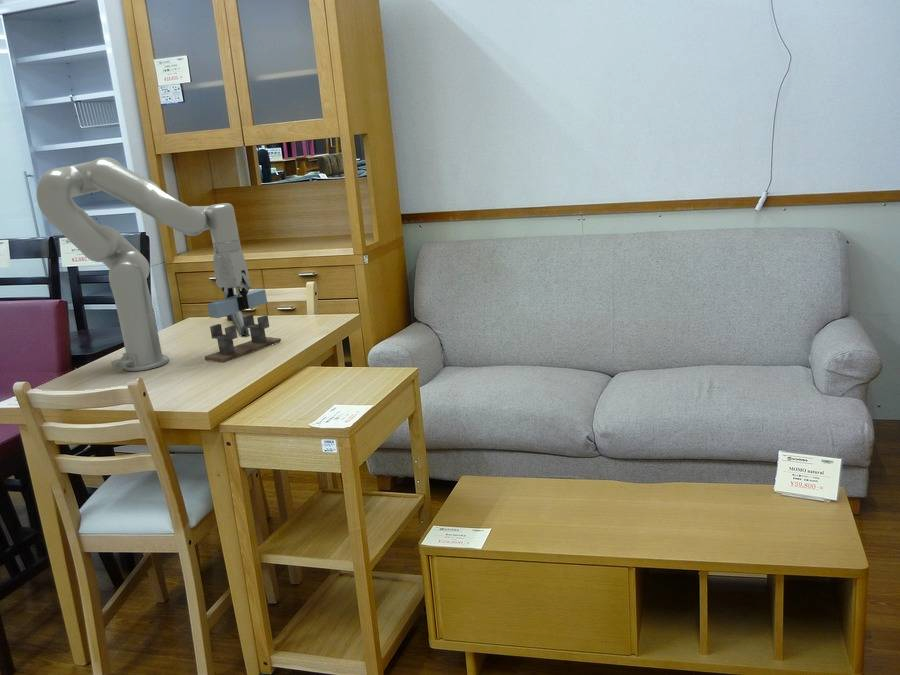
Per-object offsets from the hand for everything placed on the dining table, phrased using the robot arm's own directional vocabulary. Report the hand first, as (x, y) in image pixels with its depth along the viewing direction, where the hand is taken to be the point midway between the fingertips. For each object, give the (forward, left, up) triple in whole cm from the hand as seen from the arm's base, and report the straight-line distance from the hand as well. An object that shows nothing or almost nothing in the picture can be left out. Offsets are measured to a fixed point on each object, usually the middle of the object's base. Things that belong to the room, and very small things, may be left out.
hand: (238, 308), depth 236 cm
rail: (0, 0, 0) cm, 0 cm away
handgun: (+19, +28, -13) cm, 36 cm away
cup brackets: (0, 0, -13) cm, 13 cm away
